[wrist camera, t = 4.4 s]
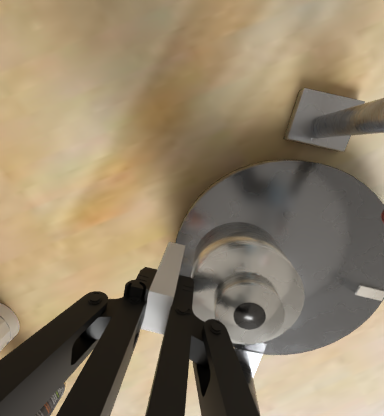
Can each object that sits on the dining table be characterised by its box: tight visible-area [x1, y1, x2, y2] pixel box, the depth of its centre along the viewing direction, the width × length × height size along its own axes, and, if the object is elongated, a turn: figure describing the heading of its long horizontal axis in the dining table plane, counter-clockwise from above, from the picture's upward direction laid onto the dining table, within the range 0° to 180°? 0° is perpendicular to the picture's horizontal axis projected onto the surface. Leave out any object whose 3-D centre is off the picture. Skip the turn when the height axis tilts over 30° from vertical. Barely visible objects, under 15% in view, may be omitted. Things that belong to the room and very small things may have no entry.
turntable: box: [176, 160, 384, 416], centre depth 19 cm, size 25×20×7 cm
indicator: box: [284, 88, 384, 223], centre depth 13 cm, size 8×5×14 cm, turn 168°
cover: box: [191, 222, 305, 344], centre depth 17 cm, size 8×8×7 cm
